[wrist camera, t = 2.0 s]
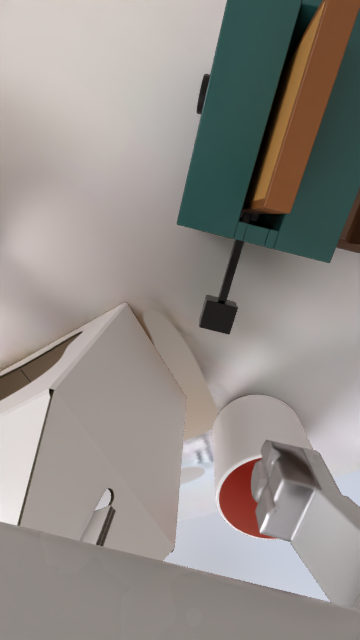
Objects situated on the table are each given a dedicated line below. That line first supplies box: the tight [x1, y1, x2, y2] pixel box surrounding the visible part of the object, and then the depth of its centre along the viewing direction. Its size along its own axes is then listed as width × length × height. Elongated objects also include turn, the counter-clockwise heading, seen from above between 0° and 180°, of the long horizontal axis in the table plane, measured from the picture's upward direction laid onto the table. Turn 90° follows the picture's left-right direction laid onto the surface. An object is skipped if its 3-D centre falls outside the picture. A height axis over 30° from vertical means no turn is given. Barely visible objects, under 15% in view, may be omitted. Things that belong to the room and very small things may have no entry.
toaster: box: [177, 0, 360, 263], centre depth 23 cm, size 13×11×11 cm
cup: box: [212, 395, 313, 540], centre depth 32 cm, size 10×10×10 cm
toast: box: [242, 0, 360, 214], centre depth 19 cm, size 9×1×10 cm, turn 166°
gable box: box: [0, 303, 186, 561], centre depth 23 cm, size 22×13×28 cm, turn 120°
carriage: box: [199, 72, 282, 334], centre depth 26 cm, size 20×3×2 cm, turn 166°
